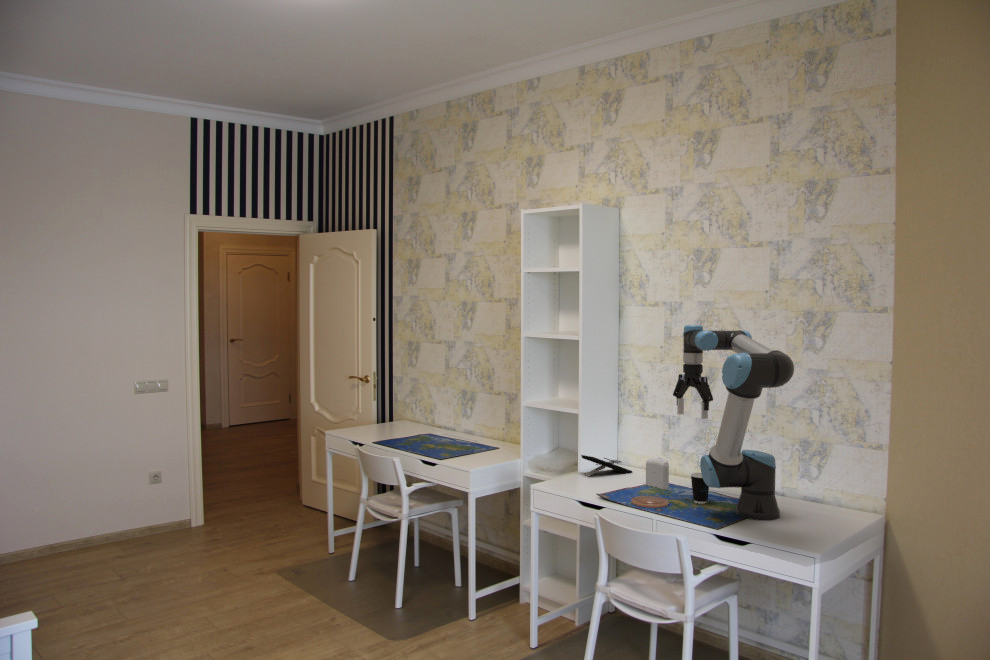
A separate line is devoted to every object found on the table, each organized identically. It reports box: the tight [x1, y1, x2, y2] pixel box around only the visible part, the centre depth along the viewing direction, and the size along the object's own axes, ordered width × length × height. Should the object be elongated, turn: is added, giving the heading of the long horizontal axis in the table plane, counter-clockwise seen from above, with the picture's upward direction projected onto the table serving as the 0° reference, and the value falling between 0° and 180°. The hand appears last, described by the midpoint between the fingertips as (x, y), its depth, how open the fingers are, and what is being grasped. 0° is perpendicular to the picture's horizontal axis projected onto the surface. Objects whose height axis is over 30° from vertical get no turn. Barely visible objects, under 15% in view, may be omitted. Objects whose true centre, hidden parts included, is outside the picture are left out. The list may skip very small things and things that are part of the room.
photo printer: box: [645, 457, 670, 490], centre depth 305 cm, size 10×4×12 cm, turn 39°
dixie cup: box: [690, 472, 710, 505], centre depth 281 cm, size 8×8×11 cm
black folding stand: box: [581, 454, 633, 477], centre depth 329 cm, size 22×10×10 cm, turn 117°
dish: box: [630, 495, 670, 509], centre depth 280 cm, size 14×14×1 cm
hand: (692, 416), depth 292 cm, fingers open, 13 cm apart
